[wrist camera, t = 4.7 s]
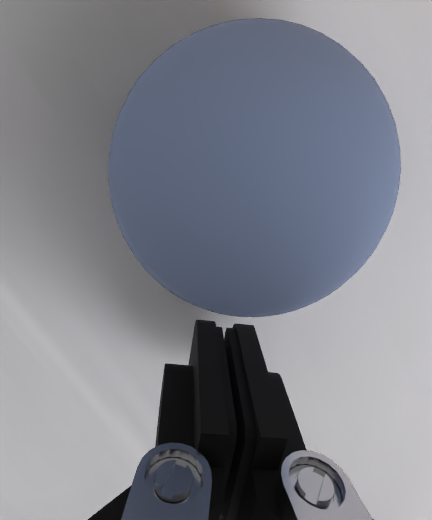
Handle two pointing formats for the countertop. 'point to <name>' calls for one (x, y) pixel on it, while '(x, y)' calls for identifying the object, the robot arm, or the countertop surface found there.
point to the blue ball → (254, 167)
